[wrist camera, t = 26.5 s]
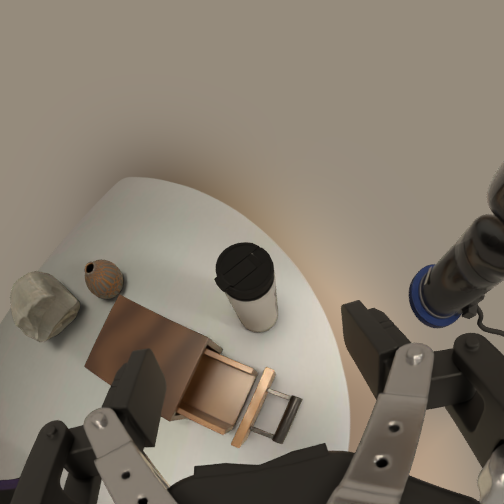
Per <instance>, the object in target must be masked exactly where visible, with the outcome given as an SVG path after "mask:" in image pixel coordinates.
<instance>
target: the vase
mask: <svg viewBox="0 0 504 504" xmlns="http://www.w3.org/2000/svg"><path fill="white" fill-rule="evenodd" d="M84 271H85V282H86V285H87V287H88V288H89V290H90V291H91V292H92V293H93V294H94V295H96V296H97V297H100V298H103V299H110V298H113V297H115V296H116V295H118V294H119V292H120V291H121V289H122V286H123V276H122V274H121V272H120V270H119V268H118V267H117V266H116V265H115V264H113V263H112V262H110V261H107V260H96V261H94V262H89V263H87V264H86V266H85V269H84Z"/></svg>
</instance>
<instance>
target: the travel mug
mask: <svg viewBox="0 0 504 504" xmlns="http://www.w3.org/2000/svg"><path fill="white" fill-rule="evenodd" d="M216 274H217V277H216V278H215V282H216V284H217V285H218V287H219V288H220V289H221V290H222V291H223V292H225V294H226V295H227V297H228V299H229V301H230V303H231V304H232V306H233V308H234V310H235V312H236V313H237V315H238V317H239V319H240V320H241V322H242V324H243V325H244V326H245V327H246V328H247V329H248V330H250V331H252V332H265V331H267V330H269V329H270V328H272V327H273V326H274V324H275V323H276V321H277V318H278V308H277V295H276V283H275V272H274V266H273V262H272V260H271V257H270V255H269V254H268V253H267V251H265V250H264V249H263V248H260V247H259V246H257V245H255V244H253V243H248V242H244V243H237V244H234V245H231V246H230V247H228V248H226V249H225V250H224V251H223V252H222V253H221V254H220V256H219V258H218V260H217V263H216Z"/></svg>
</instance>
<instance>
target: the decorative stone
mask: <svg viewBox="0 0 504 504" xmlns="http://www.w3.org/2000/svg"><path fill="white" fill-rule="evenodd" d="M10 303H11V310H12V316H13V319H14V322H15V324H16V326H17V327H19V328H20V329H21V330H22V331H23V333H24V334H25V335H27V336H28V337H31V338H33V339H35V340H37V341H39V342H45V341H46V340H48V339H49V338H51V337H54V336H56V335H58V334H59V333H60V332H61V331H63V329H64V328H65V327H66V326H67V325H68V324H69V323H70V322H72V321H73V319H74V318H75V317H76V316H77V312H78V311H79V309H80V303H79V301H78V300H77V299H76V298H75V297H74V296H73V295H72V294H71V293H70V292H69V291H68V290H67V289H66V288H65V287H64V286H63V285H62V284H61V283H60V282H59V281H58V280H57V279H56V278H54V277H53V276H52V275H50V274H47V273H42V272H37V271H34V272H30V273H28V274H26V275H24V276H23V277H21V278H20V279H19V280H18V281H16V282H15V283H14V285H13V287H12V290H11V295H10Z"/></svg>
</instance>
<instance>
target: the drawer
mask: <svg viewBox="0 0 504 504" xmlns="http://www.w3.org/2000/svg"><path fill="white" fill-rule="evenodd" d="M257 374H258V372H257V371H256V370H254V369H253V368H251V367H249V366H246V365H244V364H241V363H239V362H236V361H234V360H232V359H229V358H227V357H225V356H222V355H220V354H218V353H216V352H213V351H211V350H209V349H207V348H206V349H205V351H204V353H203V355H202V357H201V360H200V362H199V364H198V366H197V368H196V370H195V372H194V375H193V377H192V379H191V381H190V383H189V385H188V388H187V390H186V392H185V394H184V396H183V398H182V400H181V403H180V405H179V407H178V409H177V411H176V412H177V413H179V414H181V415H183V416H185V417H187V418H189V419H191V420H193V421H195V422H197V423H199V424H201V425H203V426H205V427H207V428H209V429H211V430H213V431H216V432H218V433H220V434H222V435H224V434H226V433H227V432H229V431H230V430H232V429H233V427H234V425H235V423H236V421H237V418H238V416H239V414H240V412H241V410H242V408H243V405H244V403H245V401H246V399H247V397H248V394H249V392H250V390H251V388H252V385H253V383H254V381H255V379H256V376H257ZM275 375H276V373H275V371H274V370H273V369H270V368H268V367H266V368H265V370H264V372H263V375H262V377H261V379H260V382H259V384H258V386H257V388H256V391H255V393H254V395H253V397H252V400H251V402H250V404H249V406H248V409H247V411H246V413H245V415H244V417H243V419H242V422H241V424H240V426H239V428H238V430H237V432H236V434H235V436H234V439H233V441H232V443H231V445H233V446H235V447H237V448H240V447H241V445H242V444H243V443H244V442H245V441H246V440H247V438H248V436H249V433H250V431H253V432H256V433H258V434H261V435H263V436H266V437H269V438H271V439H272V440H273V441H274V442H277V443H280V444H283V442H284V440H285V438H286V436H287V434H288V432H289V429H290V427H291V425H292V423H293V420H294V418H295V416H296V414H297V411H298V409H299V407H300V404H301V402H302V400H303V399H301V398H298V397H295V396H293V395H292V396H288V395H286V394H283V393H280V392H278V391H275V390H272V389H270V387H271V385H272V382H273V380H274V378H275ZM268 393H271V394H273V395H276V396H279V397H281V398H284V399H287V400H290V401H289V403H288V405H287V408H286V410H285V412H284V414H283V417H282V419H281V421H280V423H279V426H278V428H277V430H276V432H275V434H271V433H268V432H266V431H263V430H260V429H258V428H255V427H253V425H254V423H255V420H256V418H257V416H258V414H259V412H260V410H261V407H262V405H263V403H264V401H265V398H266V396H267V394H268Z"/></svg>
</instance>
